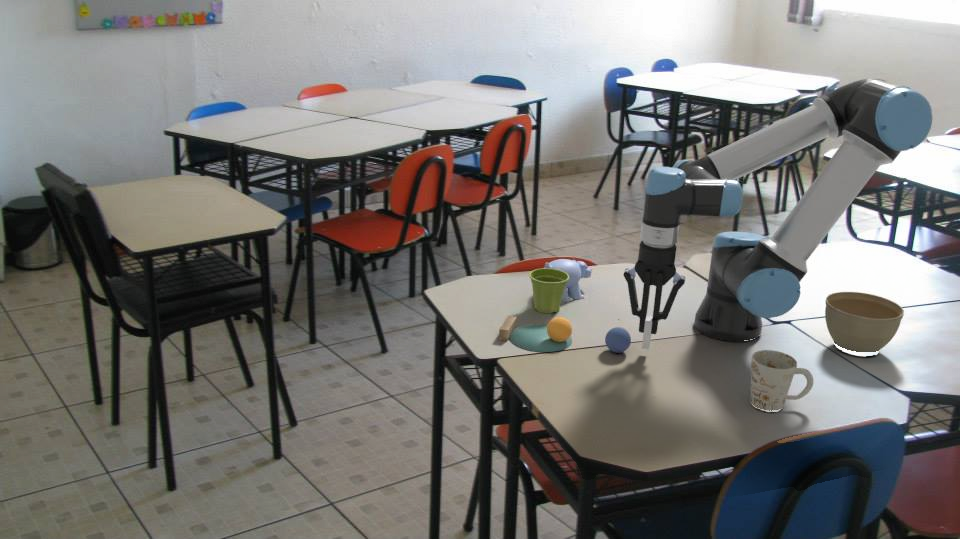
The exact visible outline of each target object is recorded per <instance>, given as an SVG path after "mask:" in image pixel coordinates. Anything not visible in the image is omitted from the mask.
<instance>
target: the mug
mask: <svg viewBox="0 0 960 539" xmlns="http://www.w3.org/2000/svg"><path fill="white" fill-rule="evenodd" d="M750 361H751V362H750V363H751V364H750V365H751V367H750V368H751V369H750V404H751V403H752V404H753V405H754V406H755V407H757V408H760V409H764V410H769V411H770V410H771V411H772V410H779V409H781V408H782V407H784V405H785V402H786V400H789V401H790V400H791V401H795V400H800V399H803V398H804V397H805V396H807V395H808V394H809V393H810V391H811V390H812V388H813V386H814V376H813V374H812V373H811V371H810V370H809V369H807V368H803V367H798V362H797V360H796V359H795V357H793V356H791V355H790V354H787V353H784V352H781V351H778V350H771V349H768V350H767V349H764V350H763V349H761V350H757V351H754V352H753V353H752V354H751V360H750ZM795 375H802V376H804V377H805V379H806V385H805V387H804V388H803V390H801V391H800V392H799V393H798V394H796V395H795V394H794V395H793V394H788V393H789V390H790V387H791V385H792V382H793V379H794V377H795ZM782 409H783V408H782Z"/></svg>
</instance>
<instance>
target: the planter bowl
mask: <svg viewBox="0 0 960 539" xmlns="http://www.w3.org/2000/svg"><path fill="white" fill-rule="evenodd" d="M903 308H904V307H902V306H901V305H899V303H897V302H895V301H893V300H891V299H888V298H886V297H883V296H881V295H880V296H879V295H877V294H876V295H875V294H872V293H867V292H866V293H865V292H860V291H859V292H858V291H839V292H833V293H831V294H828V295H827V296H826V297H825V310H824V311H825V312H824V314H825V323H826V327H827V331H828V333H829V335H830V337H831V338H832V341H834V343H835V344H837V345H838V346H840V347H842V348H845V349H847V350H851V351H856V352H876V351H879V350H880V351H881V349H883V348H884V347H886V346H887V345H888V344H889V343H890V341H891V340H892V339H893V338H894V337H895V336H896V334H897V332H898V331H899V328H900V325H901V321H902V319H903V317H904V314H905V310H904V309H903ZM880 351H879V352H880Z"/></svg>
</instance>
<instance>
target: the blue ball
mask: <svg viewBox="0 0 960 539" xmlns="http://www.w3.org/2000/svg"><path fill="white" fill-rule="evenodd" d="M604 338H605V340H604V341H605V346H606V348H607V349H608V350H610V352H613V353H615V354H616V353H617V354H619V353H624V352H625V351H627V350H628V349H629V347H630V346H631V343H632V338H631V335H630V333H629V332H628V330H626V329H625V328H624V327H621V326H620V327H619V326H618V327H617V326H616V327H613V328H611V329H610V330H608V331H607V333H606V335H605V337H604Z"/></svg>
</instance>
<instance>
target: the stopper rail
mask: <svg viewBox="0 0 960 539" xmlns="http://www.w3.org/2000/svg"><path fill="white" fill-rule="evenodd" d="M515 328H517V316H513V315H507V317H506V318H505V319H504V322H503V323H502V325H501V326H500V328H499V330H498V331H499V333H498V340H499V341H500V340H501V341H506V342H508V341H510V339H509V337H510V336H511V334H512V332H513V330H514V329H515Z"/></svg>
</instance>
